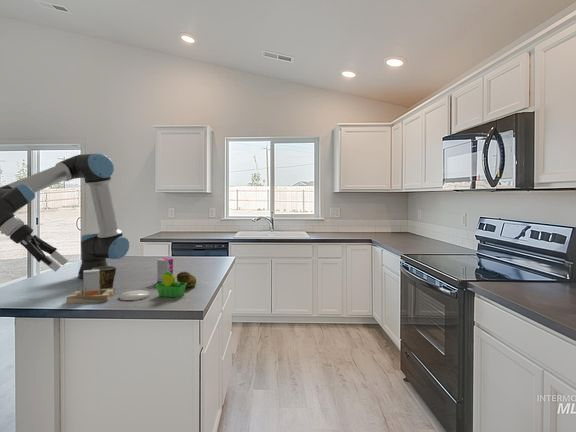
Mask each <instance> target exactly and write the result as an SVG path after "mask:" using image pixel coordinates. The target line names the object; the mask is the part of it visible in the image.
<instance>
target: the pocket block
mask: <svg viewBox="0 0 576 432" xmlns="http://www.w3.org/2000/svg"><path fill="white" fill-rule="evenodd" d="M115 294H116V289H115V288H112V289H100V295H84V289H77V290H76V291H74V292H72V293H71V294H70V295H68V296H66V304H68V305H69V304H89V303H107V302H108V301H109V300H110V299H112V297H114V296H115Z"/></svg>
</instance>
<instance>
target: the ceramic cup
mask: <svg viewBox="0 0 576 432" xmlns="http://www.w3.org/2000/svg"><path fill="white" fill-rule="evenodd" d="M96 269H99V286H100V289H114V288H113V287H114V282H115V281H114V280H115V277H116V273H117V267H116V266H114V265H113V266H112V265H108V266H101V267H96V268H93V269H92V270H96Z"/></svg>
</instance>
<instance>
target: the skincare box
mask: <svg viewBox="0 0 576 432" xmlns="http://www.w3.org/2000/svg"><path fill="white" fill-rule="evenodd" d="M82 280H83V290H84V295H100V286H99V269H96V270H84V271H83V279H82Z"/></svg>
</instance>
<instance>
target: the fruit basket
mask: <svg viewBox="0 0 576 432" xmlns="http://www.w3.org/2000/svg"><path fill="white" fill-rule="evenodd" d="M162 281H163V282H162V283H156V284H155V288H156V290H157V293H158V296H159V297H165V298H167V297H168V298H180V297H182V296H183V295H184V294H185V291H186V288H187V287H186V284H187V283H180V282H178V281H177V277H176V276H175V275H174V274H173V275H172V274H171V272H169V271H167V272H165V273H164V274H163V280H162Z"/></svg>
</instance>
